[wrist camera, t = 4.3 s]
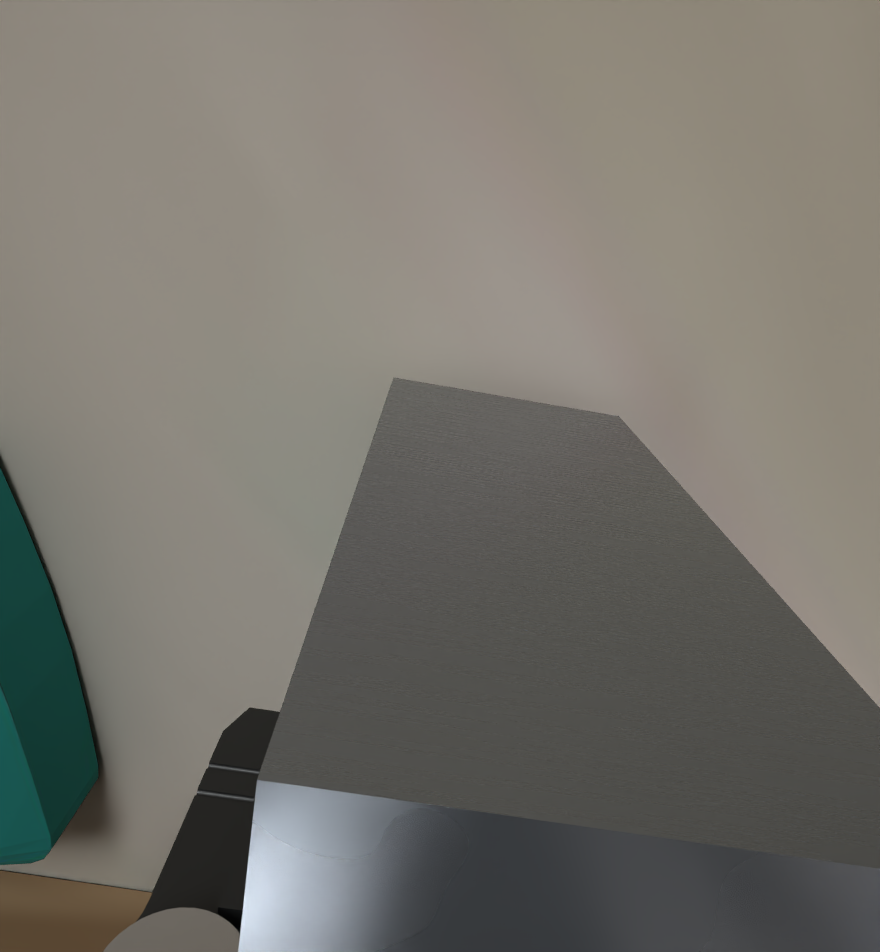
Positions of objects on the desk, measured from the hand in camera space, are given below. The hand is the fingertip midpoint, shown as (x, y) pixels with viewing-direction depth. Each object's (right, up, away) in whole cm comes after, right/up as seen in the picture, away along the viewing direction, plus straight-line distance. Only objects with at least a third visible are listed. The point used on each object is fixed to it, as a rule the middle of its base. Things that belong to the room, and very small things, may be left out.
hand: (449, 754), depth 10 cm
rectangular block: (0, 0, +2) cm, 2 cm away
